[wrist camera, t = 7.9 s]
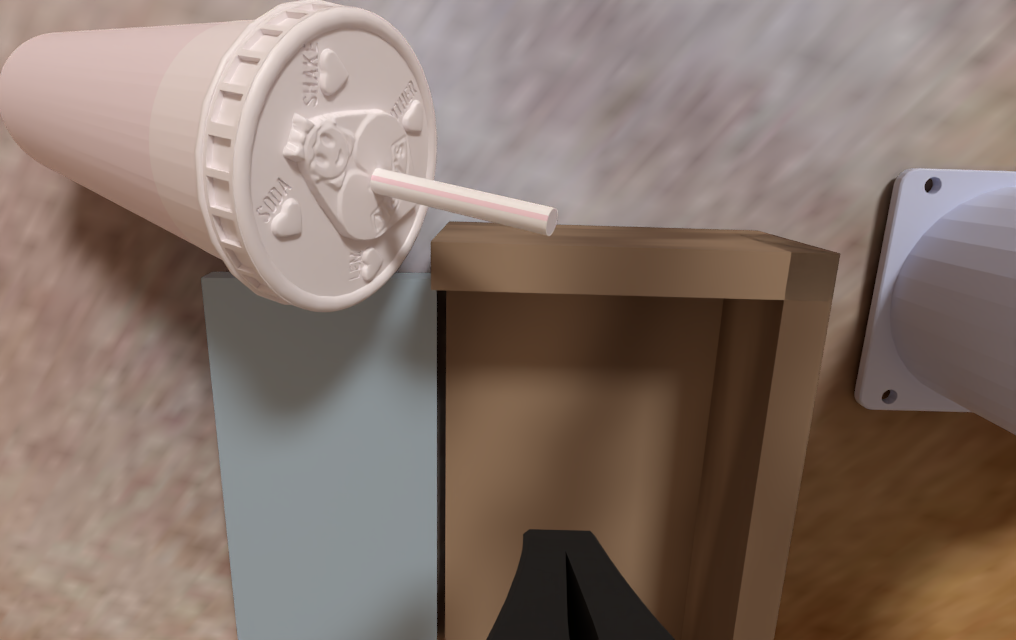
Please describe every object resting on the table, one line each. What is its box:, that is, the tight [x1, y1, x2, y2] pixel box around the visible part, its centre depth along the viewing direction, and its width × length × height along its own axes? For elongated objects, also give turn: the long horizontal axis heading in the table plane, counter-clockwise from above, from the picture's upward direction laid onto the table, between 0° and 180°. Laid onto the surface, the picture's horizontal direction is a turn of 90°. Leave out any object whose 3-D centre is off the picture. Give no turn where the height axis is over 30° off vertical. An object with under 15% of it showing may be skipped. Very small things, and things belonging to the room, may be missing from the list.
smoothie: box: [0, 0, 558, 312], centre depth 14 cm, size 6×6×14 cm
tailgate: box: [201, 272, 437, 640], centre depth 21 cm, size 1×14×7 cm
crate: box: [431, 222, 840, 640], centre depth 19 cm, size 10×18×5 cm, turn 178°
